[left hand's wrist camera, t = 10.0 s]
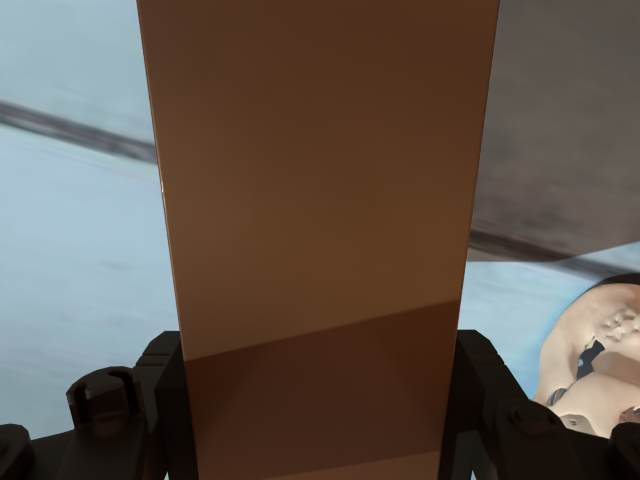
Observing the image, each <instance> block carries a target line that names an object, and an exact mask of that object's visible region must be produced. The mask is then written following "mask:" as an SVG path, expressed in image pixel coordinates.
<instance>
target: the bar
mask: <svg viewBox="0 0 640 480" xmlns="http://www.w3.org/2000/svg"><path fill="white" fill-rule="evenodd" d="M136 1H137V9H138V16H139V24H140V32H141V39H142V47H143V54H144V62H145V70H146V77H147V85H148V93H149V100H150V108H151V115H152V123H153V131H154V138H155V146H156V153H157V161H158V169H159V176H160V184H161V192H162V199H163V207H164V214H165V222H166V230H167V237H168V245H169V253H170V260H171V268H172V275H173V283H174V291H175V298H176V306H177V314H178V321H179V329H180V336H181V344H182V352H183V359H184V367H185V375H186V382H187V390H188V397H189V405H190V413H191V420H192V428H193V435H194V443H195V451H196V458H197V466H198V474H199V480H438V473H439V466H440V458H441V450H442V443H443V435H444V427H445V420H446V412H447V404H448V397H449V389H450V381H451V374H452V366H453V358H454V351H455V343H456V335H457V328H458V320H459V312H460V304H461V297H462V289H463V281H464V274H465V266H466V258H467V251H468V243H469V235H470V228H471V220H472V212H473V205H474V197H475V189H476V182H477V174H478V166H479V159H480V151H481V143H482V136H483V128H484V120H485V113H486V105H487V97H488V89H489V82H490V74H491V66H492V59H493V51H494V43H495V36H496V28H497V20H498V13H499V5H500V0H136Z"/></svg>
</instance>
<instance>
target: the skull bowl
mask: <svg viewBox="0 0 640 480" xmlns="http://www.w3.org/2000/svg"><path fill="white" fill-rule="evenodd" d="M596 340H597V341H598V342H600V343H602V345H603V346H604V348H605V350H604V351H601V352H600V353H599V355H598V356H597V357H595V359H594V360H593V361H592V362H591V363H592V366H593V369H594V372H591V373H590V374H588V375H586V376H584V377H582V378H581V379H579V380H577V376H576V374H577V371H578V363H579V359H580V356H581V354H582V353H583V352H584V351H585V350H587V349H589V348H592V346H593V344H594V342H595V341H596ZM563 388H564V389H566V390H567V391H566V392H565V394H564V395H563V396H562V391H563ZM556 390H558V391H557V393H556V395H555V398H554V402H553V404H552V401H551V397H552V395H553V394H554V392H555V391H556ZM561 396H562V397H561ZM529 400H531V399H529ZM532 401H535V402H538V403H540V404H542V405H543V406H545V407H547V408H549V409H550V410H552V411H553V412H554V413H555V414H556V415H557V416H559V417H560V419H561V421H562V422H563V424H564V425H565V427H566V428H569V429H572V430H575V431H579V432H583V433H587V434H592V435H596V436H600V437H605V438H610V435H611V431H612V429H613V428H614V427H615V426H616V425H617V424H619V423H625V422H635V423H640V412H639V413H637V414H634V411H635V410H637V409H638V408H640V286H639V285H635V284H619V283H616V284H605V285H600V286H597V287H595V288H592V289H590V290H588V291H587V292H585V293H584V294H583V295H581V296H580V297H579V298H578V299H576V300H575V301H574V302H573V303H572V304H571V305H570V306H569V307H568V308H567V309H565V311H564V312H563V313H562V314H561V315H560V317H559V318H558V320H557V321H556V324H555V326H554V327H553V329H552V331H551V333H550V334H549V336H548V337H547V338H546V340H545V341H544V343H543V345H542V347H541V351H540V374H539V383H538V388H537V391H536V393H535V396H534V398H533V399H532ZM634 406H635V407H634Z"/></svg>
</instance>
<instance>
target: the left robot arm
mask: <svg viewBox="0 0 640 480" xmlns="http://www.w3.org/2000/svg"><path fill="white" fill-rule="evenodd" d="M66 396H67V400H68V404H69V407H70V411H71V415H72V419H73V423H74V429H73V430H70V431H67V432H64V433H60V434H56V435H51V436H47V437H43V438H39V439H34V440H31V439H30V436H29V433H28V430H27V429H25V428H24V427H23V426H22V425H17V424H4V425H0V480H164V479H165V476H166V474H167V471H168V477H169V480H199V474H198V466H197V458H196V451H195V443H194V435H193V428H192V420H191V413H190V405H189V397H188V390H187V382H186V375H185V367H184V359H183V352H182V344H181V336H180V331H164V332H163V333H161V334H160V335H159V336H157V337H156V338H155V339H153V340H152V341H151V342H150V343H149V345H148V346H147V348H146V349H145V351H144V352H143V354H142V356H141V357H140V358H139V360H138V361H137V363H136V366H134V367H133V369H132V368H128V367H124V366H115V367H107V368H103V369H99V370H96V371H94V372H91V373H89V374H87V375H85V376H83V377H82V378H80V379H79V380H78V381H76V382H75V383H74V384H72V386H71V387H70V388H69V390H68V391H67V392H66ZM472 470H473V472H474V475H475V477H476V480H640V423H635V422H625V423H619V424H617V425H616V426H615V427H614V428H613V429H612V431H611V435H610V438H605V437H600V436H596V435H592V434H587V433H583V432H579V431H575V430H572V429H569V428H566V427H565V425H564V424H563V422H562V421H561V419H560V417H559V416H557V415H556V414H555V413H554V412H553V411H552V410H550V409H549V408H547V407H545V406H543V405H542V404H540V403H538V402H535V401H532V400H529V399H528V397H527V396H526V394H525V393H524V391H523V390H522V388H521V387H520V385H519V384H518V382H517V381H516V379H515V378H514V376H513V375H512V373H511V372H510V370H509V369H508V367H507V366H506V365H504V361H503V360H502V358H501V357H500V355H498V352H497V351H496V349H495V348H494V346H493V345H492V343H491V342H490V340H489V339H487V338H486V337H484V336H483V335H482V334H480V333H479V332H478V331H476V330H457V335H456V343H455V351H454V358H453V366H452V374H451V381H450V389H449V397H448V404H447V412H446V420H445V427H444V435H443V443H442V450H441V458H440V466H439V473H438V480H471V475H472Z"/></svg>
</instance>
